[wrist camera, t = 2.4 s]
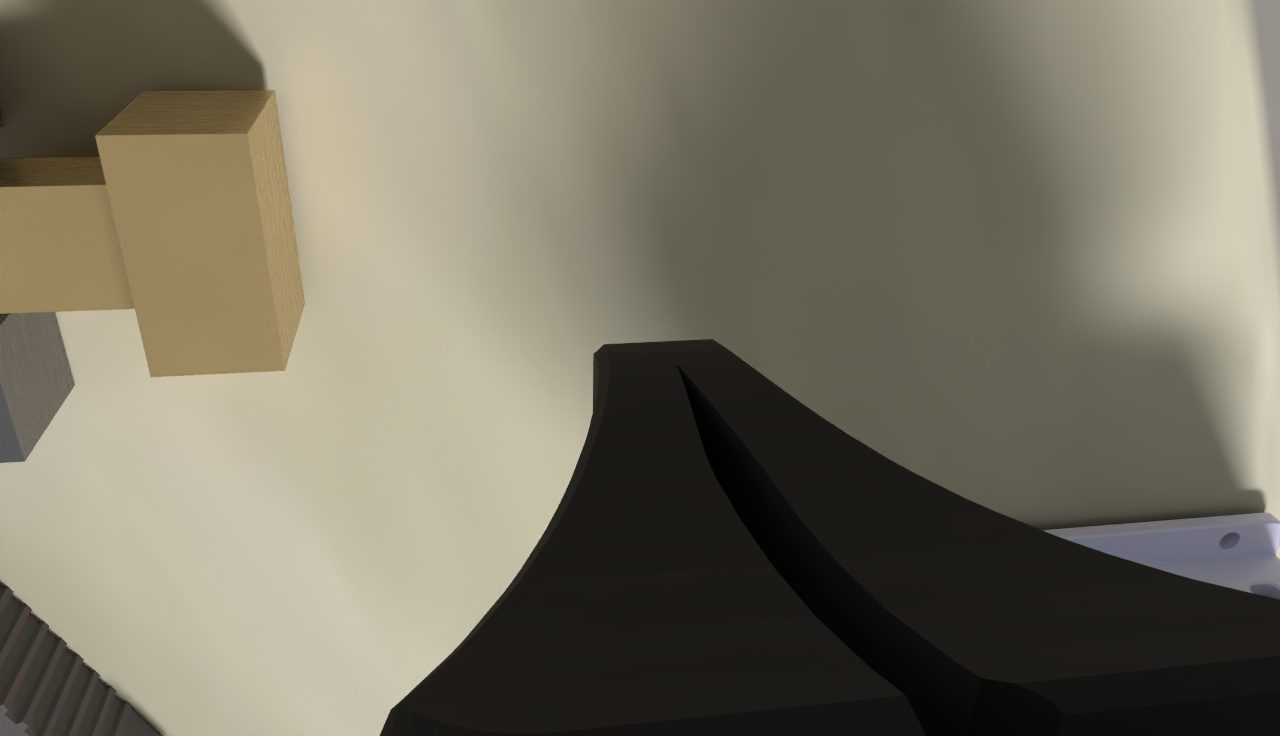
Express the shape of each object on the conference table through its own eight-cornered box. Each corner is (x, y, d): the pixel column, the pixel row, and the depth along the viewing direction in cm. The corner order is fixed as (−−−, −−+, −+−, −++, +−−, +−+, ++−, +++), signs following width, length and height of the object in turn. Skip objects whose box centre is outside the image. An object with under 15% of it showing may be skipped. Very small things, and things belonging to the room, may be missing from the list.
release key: (274, 90, 16) (247, 134, 14) (305, 303, 18) (284, 370, 16) (-15, 92, 16) (-89, 137, 14) (47, 313, 18) (-11, 384, 15)
